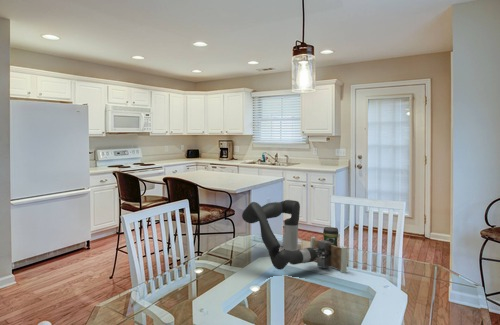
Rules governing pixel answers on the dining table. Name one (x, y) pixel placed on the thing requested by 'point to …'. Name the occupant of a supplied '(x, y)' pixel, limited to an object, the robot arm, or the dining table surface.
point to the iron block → (324, 247)
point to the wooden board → (343, 255)
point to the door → (332, 255)
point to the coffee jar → (331, 235)
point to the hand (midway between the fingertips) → (327, 251)
